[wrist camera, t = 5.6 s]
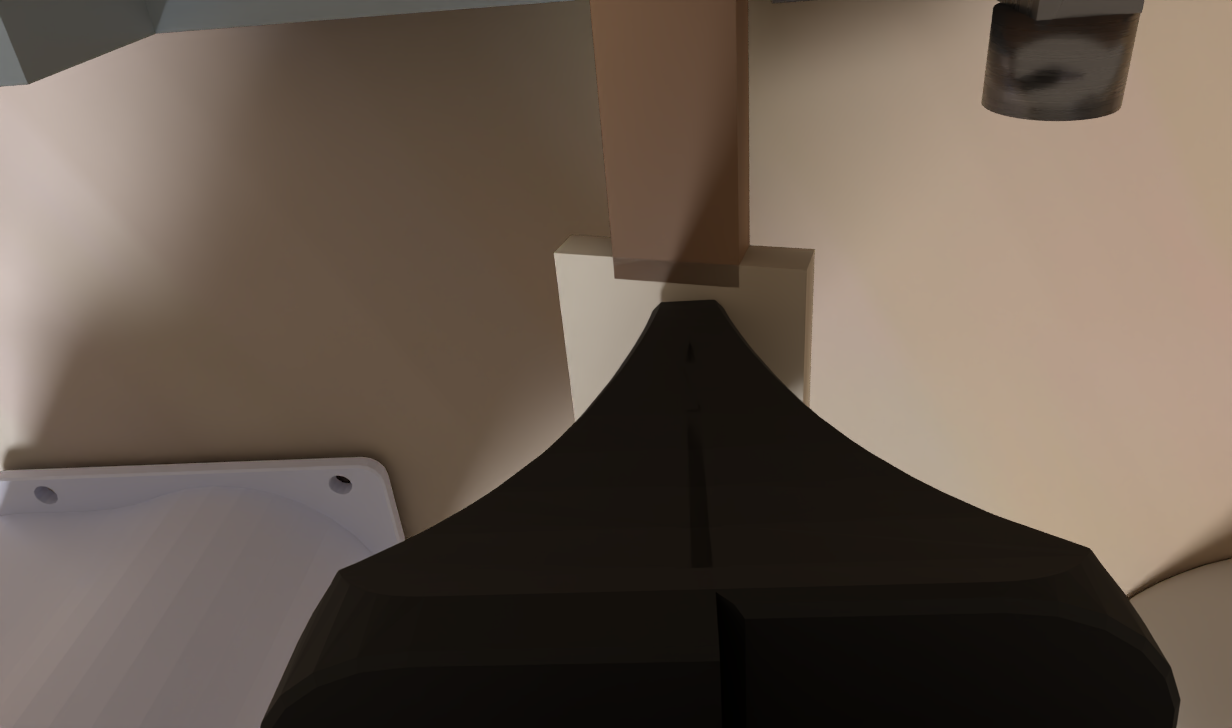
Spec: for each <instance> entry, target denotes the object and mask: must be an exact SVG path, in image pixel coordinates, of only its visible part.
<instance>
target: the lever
mask: <svg viewBox="0 0 1232 728" xmlns="http://www.w3.org/2000/svg"><path fill="white" fill-rule="evenodd" d="M590 11H591V22H592V33H593V44H594V55H595V66H596V77H597V88H598V100H599V111H600V122H601V133H602V144H603V155H604V166H605V177H606V188H607V200H608V211H609V222H610V233H611V237H600V236H583V235H570V236H569V237H568V238H567V240H566V241H565V242H564V243H563V244H562V245H561V246H560V247H559V248H558V249H557V250H556V251H555V252H554V259H555V267H556V275H557V283H558V291H559V299H560V307H561V315H562V323H563V330H564V338H565V346H566V354H567V362H568V370H569V378H570V386H571V394H572V402H573V410H574V418H575V422H576V421H577V420H578V418H579V417H580V416H581V415H582V414H583V413H584V412H585V411H586V409H587V408H588V407H589V406H590V405H591V403H592V402H593V401H594V400H595V399H596V397H597V396H598V395H599V394H600V392H601V391H602V390H603V389H604V388H605V386H606V385H607V384H608V383H609V381H610V380H611V379H612V377H613V376H614V375H615V373H616V372H617V370H618V369H619V367H620V366H621V364H622V363H623V362H624V360H625V359H626V357H627V356H628V354H629V353H630V351H631V350H632V348H633V347H634V345H635V343H636V342H637V340H638V338H639V337H640V335H641V333H642V332H643V330H644V328H645V326H646V324H647V322H648V320H649V318H650V316H651V313H652V311H653V310H654V309H655V308H656V307H657V306H658V305H659V304H660V303H661V302H674V301H693V300H716V301H717V302H718V303H719V304H720V305H721V306H722V307H723V308H724V309H725V311H726V313H727V314H728V316H729V318H730V319H731V321H732V322H733V324H734V325H735V327H736V328H737V329H738V331H739V332H740V333H741V335H742V336H743V337H744V339H745V340H746V341H747V343H748V344H749V345H750V346H751V348H752V349H753V350H754V351H755V353H756V354H757V355H758V356H759V357H760V358H761V359H762V361H763V362H764V363H765V364H766V365H767V366H768V367H769V368H770V369H771V371H772V372H773V373H774V374H775V375H776V376H777V377H778V378H779V379H780V380H781V381H782V382H783V383H784V384H785V385H786V386H787V388H788V389H789V390H791V391H792V392H793V393H794V394H795V395H796V396H797V397H798V398H799V399H800V400H801V401H802V402H803V403H804V404H805V405H806V406H808V407H809V400H810V371H811V342H812V313H813V284H814V255H815V249H802V248H785V247H768V246H752V245H750V235H749V55H748V0H590Z"/></svg>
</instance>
